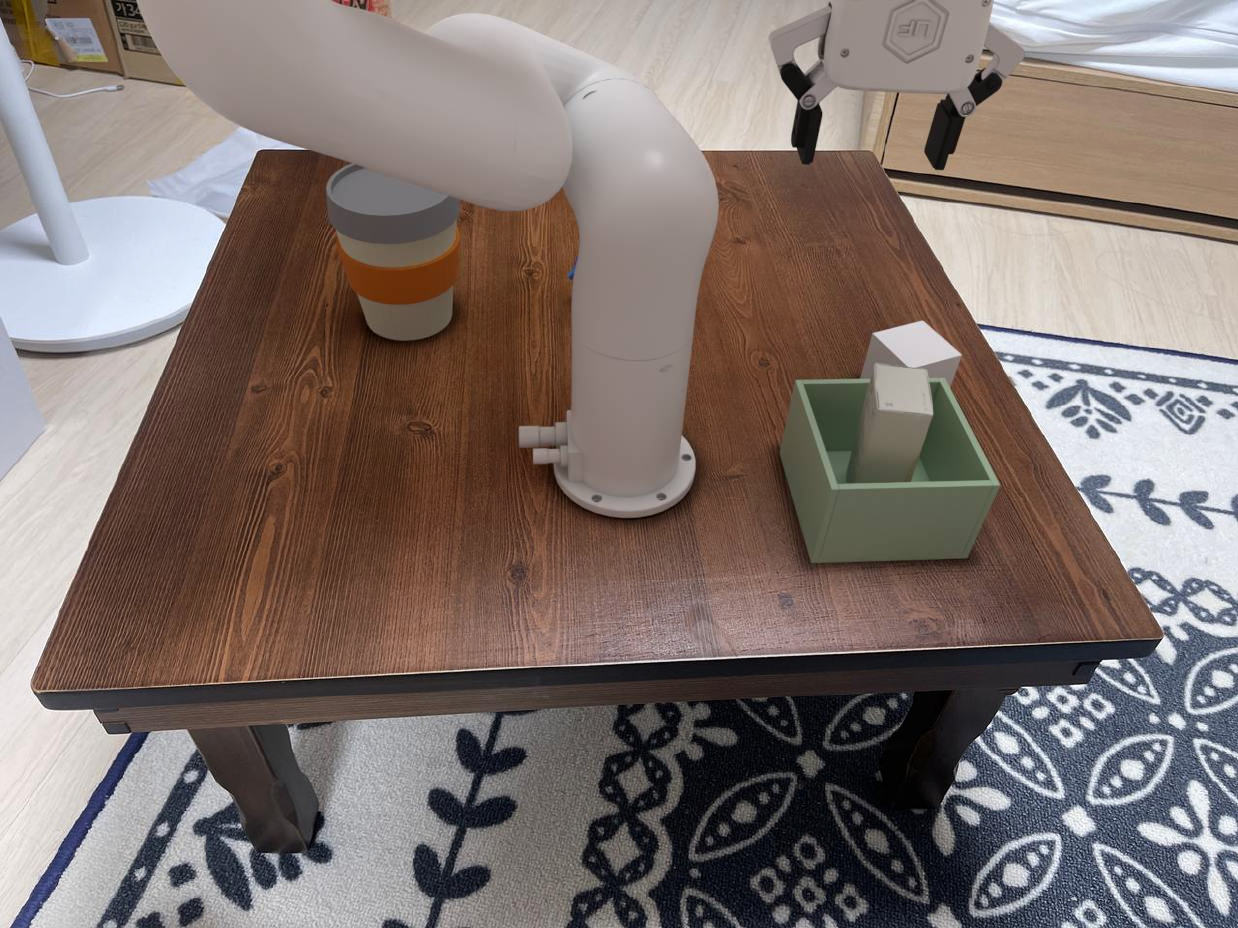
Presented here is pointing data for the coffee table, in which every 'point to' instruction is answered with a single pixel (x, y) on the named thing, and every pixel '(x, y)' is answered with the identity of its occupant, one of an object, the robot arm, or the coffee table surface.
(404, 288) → the reusable coffee cup
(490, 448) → the coffee table surface
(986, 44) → the robot arm
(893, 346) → the white cube
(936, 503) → the bin
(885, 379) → the cosmetic box
